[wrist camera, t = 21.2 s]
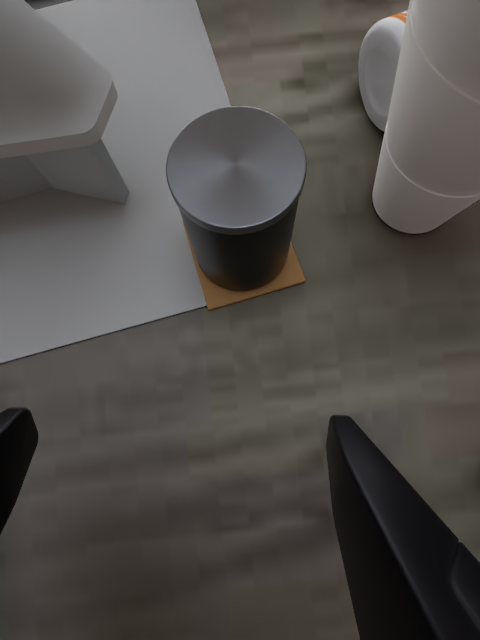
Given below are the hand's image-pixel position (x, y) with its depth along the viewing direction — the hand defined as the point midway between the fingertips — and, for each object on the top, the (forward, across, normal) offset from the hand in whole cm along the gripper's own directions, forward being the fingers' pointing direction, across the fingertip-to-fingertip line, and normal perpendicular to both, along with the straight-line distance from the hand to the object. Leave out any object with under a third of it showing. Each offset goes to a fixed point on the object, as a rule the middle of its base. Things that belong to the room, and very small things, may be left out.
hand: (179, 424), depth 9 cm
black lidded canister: (+16, -1, +2) cm, 17 cm away
